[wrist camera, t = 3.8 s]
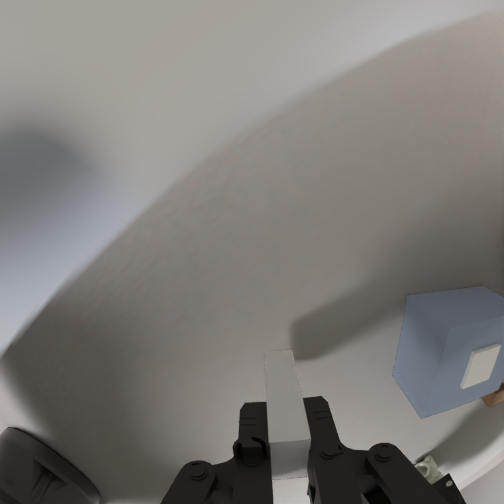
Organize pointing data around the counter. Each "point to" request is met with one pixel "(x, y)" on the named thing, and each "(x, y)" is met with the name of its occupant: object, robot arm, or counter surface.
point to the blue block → (450, 348)
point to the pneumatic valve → (440, 481)
